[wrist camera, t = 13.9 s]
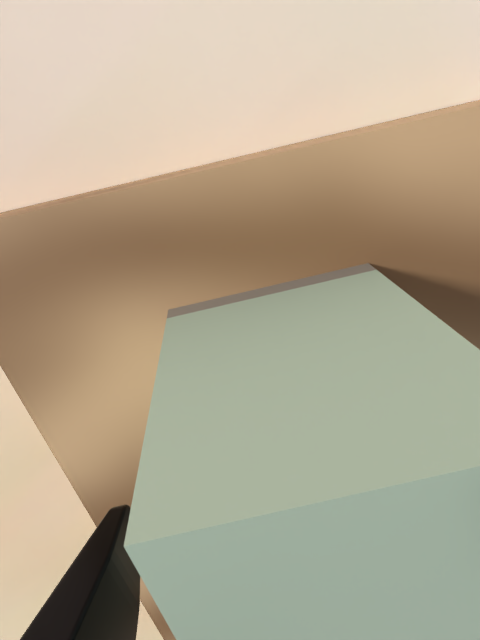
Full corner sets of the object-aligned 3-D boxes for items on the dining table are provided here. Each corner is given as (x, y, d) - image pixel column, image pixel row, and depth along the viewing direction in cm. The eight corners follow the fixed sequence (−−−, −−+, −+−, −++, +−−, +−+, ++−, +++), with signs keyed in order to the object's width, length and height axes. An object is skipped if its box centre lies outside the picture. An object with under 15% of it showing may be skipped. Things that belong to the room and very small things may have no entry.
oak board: (468, 567, 18) (490, 602, 17) (183, 630, 18) (181, 670, 17) (519, 90, 9) (574, 84, 8) (-38, 221, 9) (-78, 236, 8)
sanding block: (382, 485, 13) (511, 738, 8) (237, 518, 13) (262, 792, 8) (368, 262, 9) (595, 440, 4) (168, 309, 9) (124, 545, 4)
